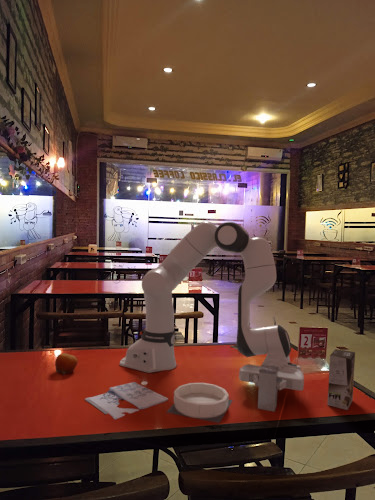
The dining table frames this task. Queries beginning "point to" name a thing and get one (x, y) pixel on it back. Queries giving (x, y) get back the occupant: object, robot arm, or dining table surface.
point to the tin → (267, 387)
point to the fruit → (65, 363)
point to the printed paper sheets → (127, 392)
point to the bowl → (201, 400)
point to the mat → (215, 419)
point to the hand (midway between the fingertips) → (267, 385)
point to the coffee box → (341, 379)
